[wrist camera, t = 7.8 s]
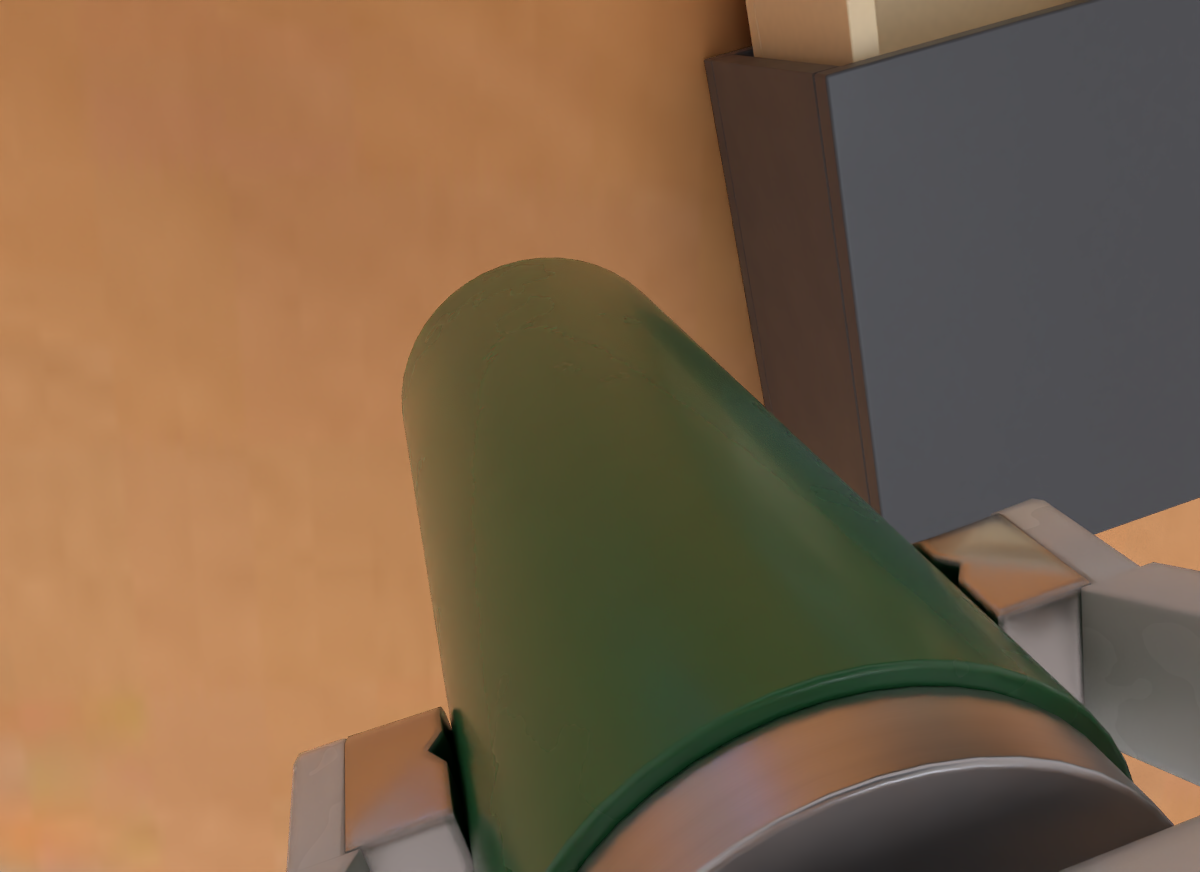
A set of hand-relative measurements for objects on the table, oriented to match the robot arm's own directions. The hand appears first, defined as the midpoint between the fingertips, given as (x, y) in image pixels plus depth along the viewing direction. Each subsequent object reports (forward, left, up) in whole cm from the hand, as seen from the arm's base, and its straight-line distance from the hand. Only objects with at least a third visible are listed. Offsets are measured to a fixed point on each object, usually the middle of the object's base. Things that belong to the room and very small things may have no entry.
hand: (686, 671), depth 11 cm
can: (0, 0, -9) cm, 9 cm away
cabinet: (+12, +13, -26) cm, 32 cm away
